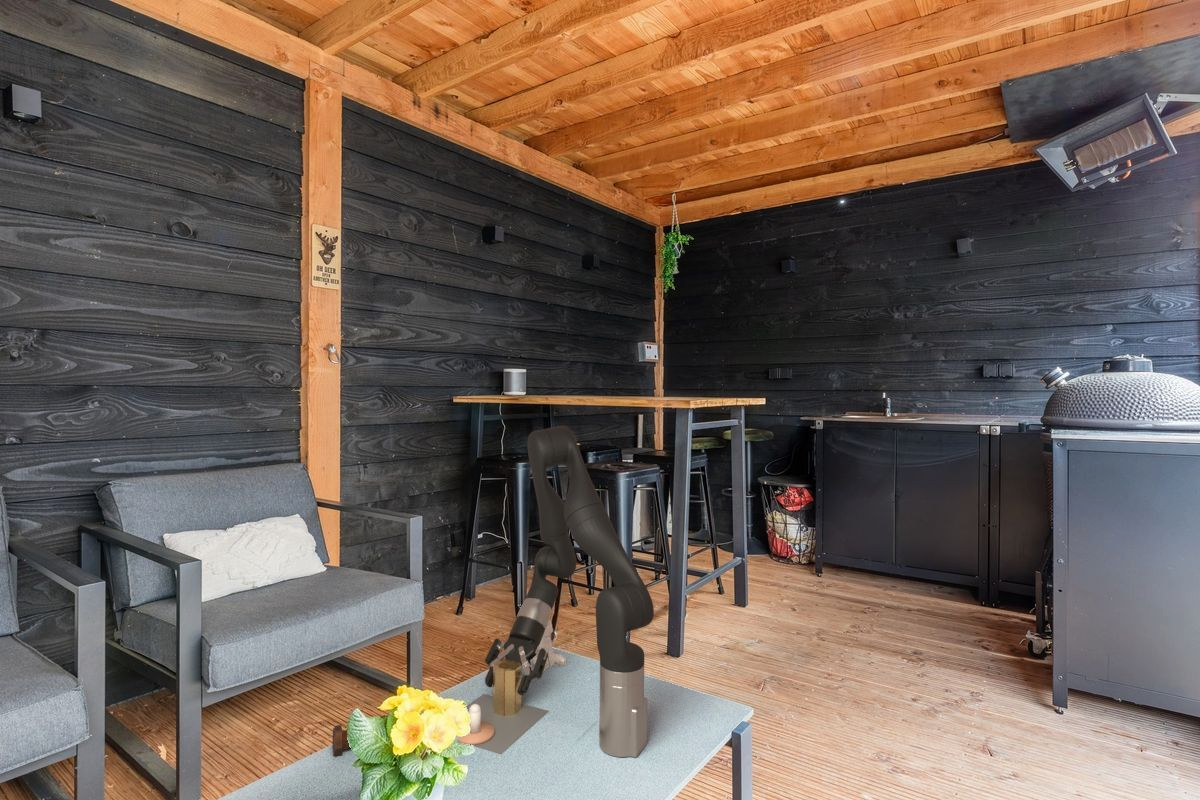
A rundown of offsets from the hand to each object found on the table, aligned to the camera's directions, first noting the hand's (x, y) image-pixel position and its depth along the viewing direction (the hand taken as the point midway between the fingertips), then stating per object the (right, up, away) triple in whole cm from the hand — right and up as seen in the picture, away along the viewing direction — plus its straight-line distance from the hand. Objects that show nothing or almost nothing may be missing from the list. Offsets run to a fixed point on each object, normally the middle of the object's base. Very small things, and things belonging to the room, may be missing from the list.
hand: (503, 689), depth 144 cm
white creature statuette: (+7, -6, +28) cm, 29 cm away
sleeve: (+1, -5, +1) cm, 5 cm away
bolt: (-26, -7, -11) cm, 29 cm away
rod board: (-2, -6, -4) cm, 8 cm away
